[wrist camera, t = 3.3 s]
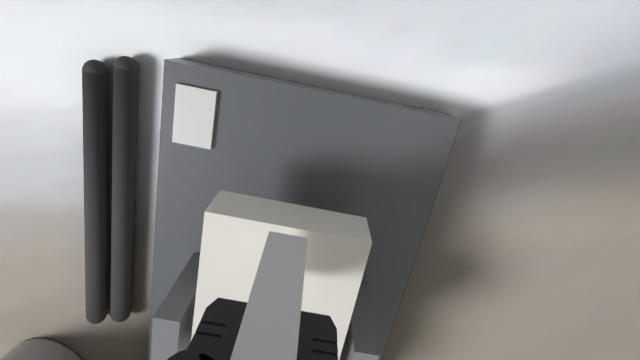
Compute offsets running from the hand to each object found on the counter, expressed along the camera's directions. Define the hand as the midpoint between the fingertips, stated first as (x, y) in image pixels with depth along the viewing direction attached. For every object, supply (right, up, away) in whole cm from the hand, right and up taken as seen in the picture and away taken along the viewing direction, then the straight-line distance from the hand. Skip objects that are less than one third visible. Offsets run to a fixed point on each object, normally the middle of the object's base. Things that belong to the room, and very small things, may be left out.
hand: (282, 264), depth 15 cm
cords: (-10, +2, +8) cm, 13 cm away
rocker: (-1, -4, +5) cm, 7 cm away
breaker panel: (-1, -3, +10) cm, 10 cm away
